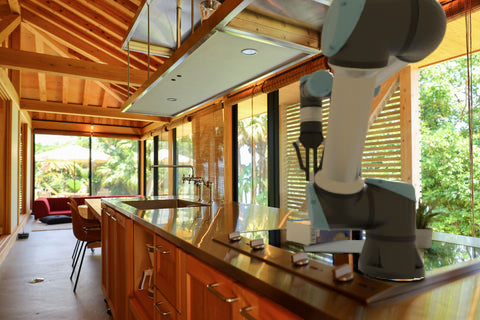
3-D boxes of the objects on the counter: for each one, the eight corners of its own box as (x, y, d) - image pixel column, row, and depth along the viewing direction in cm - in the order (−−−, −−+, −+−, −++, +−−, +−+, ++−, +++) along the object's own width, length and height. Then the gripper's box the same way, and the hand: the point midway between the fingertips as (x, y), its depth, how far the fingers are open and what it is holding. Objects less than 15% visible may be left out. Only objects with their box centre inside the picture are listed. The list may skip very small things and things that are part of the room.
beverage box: (286, 239, 120) (327, 234, 133) (309, 245, 112) (350, 239, 124) (286, 220, 121) (327, 217, 134) (309, 224, 112) (350, 220, 125)
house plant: (417, 253, 103) (417, 200, 103) (386, 243, 116) (386, 196, 117) (455, 250, 107) (454, 198, 107) (420, 241, 120) (420, 195, 121)
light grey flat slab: (378, 254, 102) (378, 252, 102) (304, 252, 105) (304, 250, 105) (364, 241, 120) (364, 240, 120) (301, 240, 122) (301, 238, 122)
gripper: (329, 122, 117) (329, 190, 116) (291, 123, 119) (291, 190, 118) (332, 119, 110) (333, 192, 109) (291, 120, 111) (292, 191, 111)
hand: (311, 191), depth 114 cm, fingers closed
